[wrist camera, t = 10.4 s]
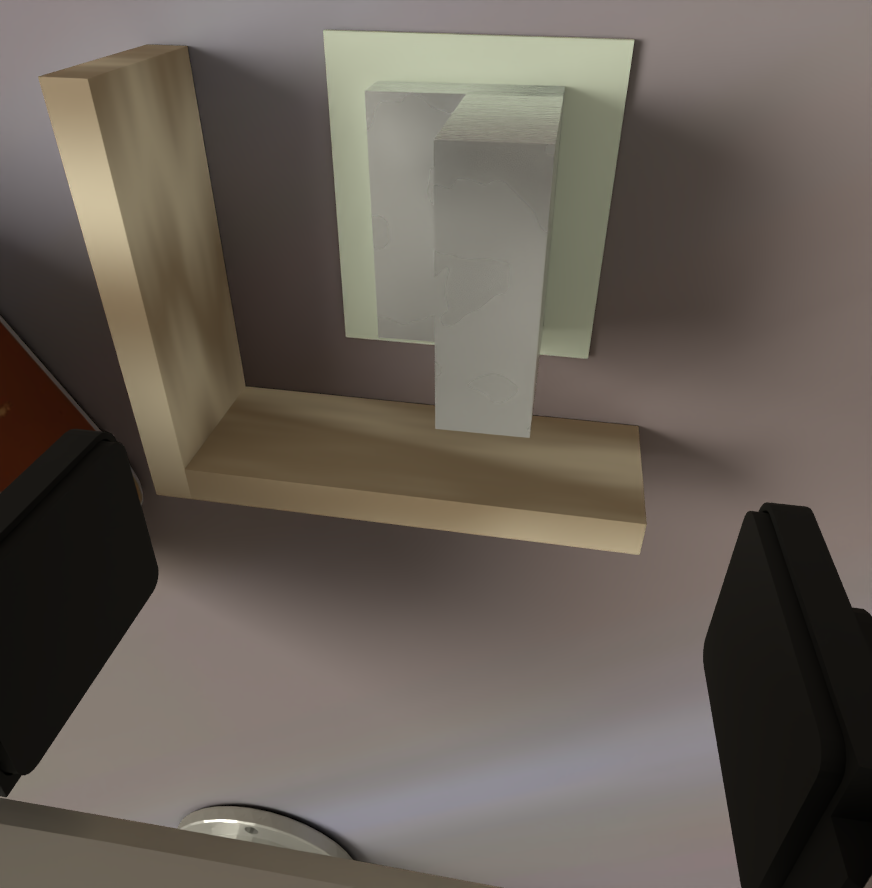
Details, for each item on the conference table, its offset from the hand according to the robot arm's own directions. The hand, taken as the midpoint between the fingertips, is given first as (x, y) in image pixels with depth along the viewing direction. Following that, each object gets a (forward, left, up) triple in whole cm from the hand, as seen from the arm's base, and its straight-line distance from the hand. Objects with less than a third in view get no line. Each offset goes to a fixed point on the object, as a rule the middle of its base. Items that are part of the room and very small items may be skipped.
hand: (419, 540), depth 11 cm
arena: (-1, +2, -13) cm, 14 cm away
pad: (+1, +1, -13) cm, 13 cm away
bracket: (+1, +1, -13) cm, 13 cm away
